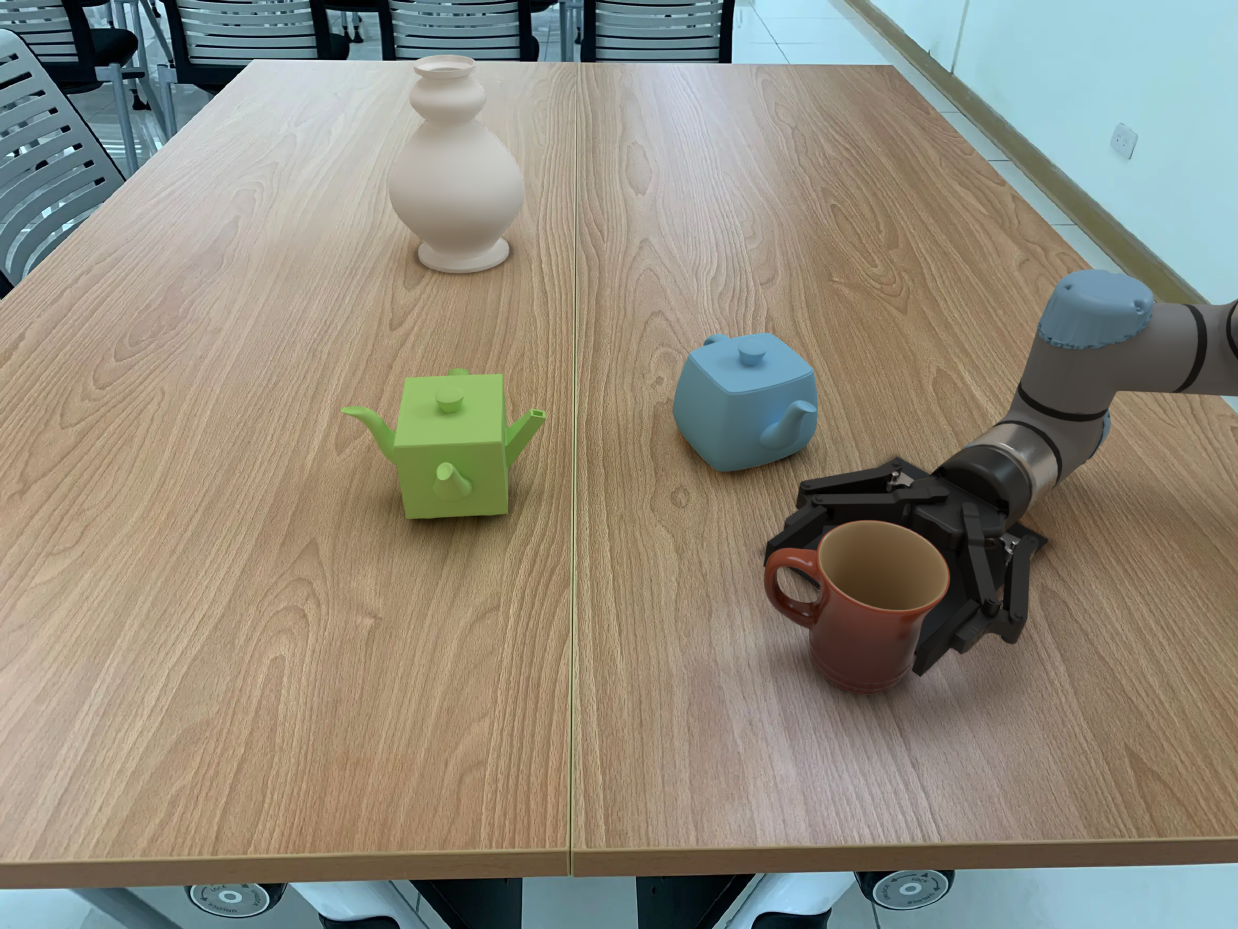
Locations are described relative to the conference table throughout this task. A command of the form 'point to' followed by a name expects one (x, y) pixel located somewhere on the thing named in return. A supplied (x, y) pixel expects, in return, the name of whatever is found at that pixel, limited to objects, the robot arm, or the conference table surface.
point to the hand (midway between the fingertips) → (839, 606)
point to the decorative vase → (455, 172)
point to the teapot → (745, 401)
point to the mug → (863, 601)
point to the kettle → (452, 444)
